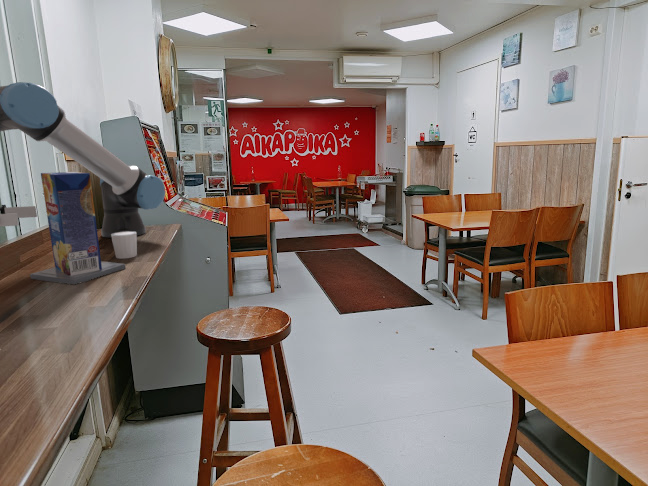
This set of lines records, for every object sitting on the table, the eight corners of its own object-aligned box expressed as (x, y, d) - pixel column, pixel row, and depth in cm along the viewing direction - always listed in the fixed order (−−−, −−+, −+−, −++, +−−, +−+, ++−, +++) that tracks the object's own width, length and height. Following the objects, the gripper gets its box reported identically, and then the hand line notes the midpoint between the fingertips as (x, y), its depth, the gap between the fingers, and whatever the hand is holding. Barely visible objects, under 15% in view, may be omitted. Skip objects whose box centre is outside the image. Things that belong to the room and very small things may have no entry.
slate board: (84, 263, 118) (83, 259, 117) (125, 268, 112) (125, 263, 112) (30, 278, 104) (30, 273, 104) (74, 284, 99) (73, 279, 98)
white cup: (121, 260, 121) (118, 236, 119) (109, 256, 125) (106, 233, 123) (143, 255, 126) (141, 232, 125) (131, 252, 130) (129, 230, 129)
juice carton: (102, 269, 106) (89, 173, 101) (69, 276, 101) (54, 174, 96) (86, 261, 115) (74, 171, 109) (55, 267, 109) (40, 173, 104)
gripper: (-52, 228, 108) (44, 222, 114) (-115, 248, 85) (10, 240, 91) (-58, 198, 106) (40, 194, 113) (-124, 211, 83) (5, 205, 90)
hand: (27, 215), depth 102 cm, fingers open, 13 cm apart
